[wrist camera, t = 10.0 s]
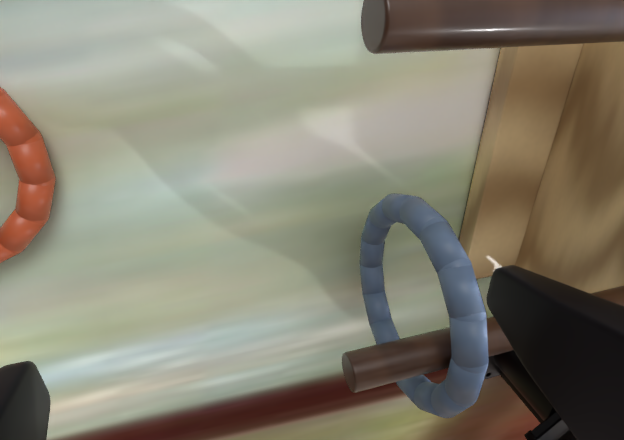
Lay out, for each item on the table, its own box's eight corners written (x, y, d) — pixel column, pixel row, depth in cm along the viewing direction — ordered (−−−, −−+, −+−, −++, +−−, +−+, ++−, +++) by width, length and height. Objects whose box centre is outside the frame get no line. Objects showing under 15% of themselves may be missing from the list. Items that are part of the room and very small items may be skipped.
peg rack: (527, 256, 29) (691, 384, 20) (289, 304, 25) (361, 495, 16) (663, -166, 18) (1179, -308, 9) (272, -210, 14) (489, -579, 4)
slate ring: (371, 308, 25) (465, 460, 17) (352, 311, 24) (439, 469, 17) (385, 160, 20) (525, 278, 12) (362, 162, 20) (490, 285, 12)
